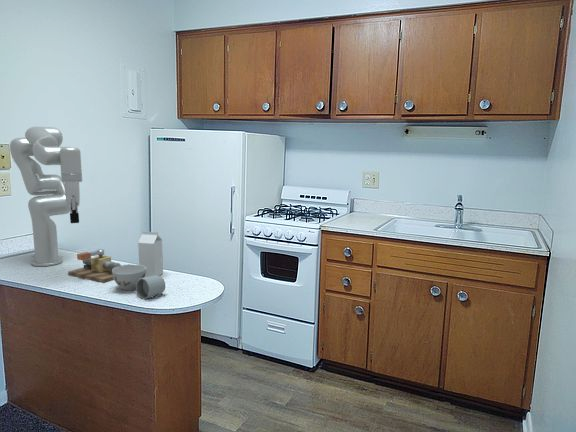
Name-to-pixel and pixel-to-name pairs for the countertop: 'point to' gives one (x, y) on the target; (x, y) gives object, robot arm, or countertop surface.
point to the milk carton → (151, 253)
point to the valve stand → (96, 269)
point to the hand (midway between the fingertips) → (74, 222)
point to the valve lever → (89, 254)
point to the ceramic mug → (150, 286)
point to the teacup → (128, 275)
